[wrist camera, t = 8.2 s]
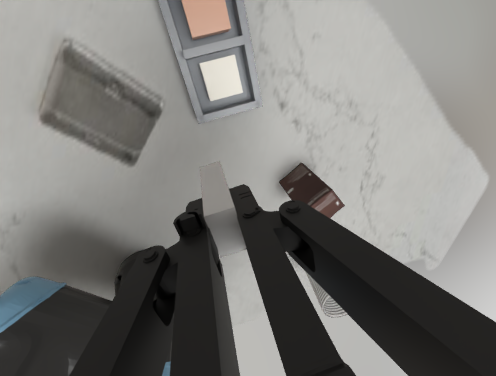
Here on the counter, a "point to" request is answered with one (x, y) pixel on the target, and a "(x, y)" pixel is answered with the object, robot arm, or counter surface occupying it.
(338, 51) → the counter surface
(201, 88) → the gray divided tray
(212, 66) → the key ivory
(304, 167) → the box
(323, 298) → the cup
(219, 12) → the key terracotta
